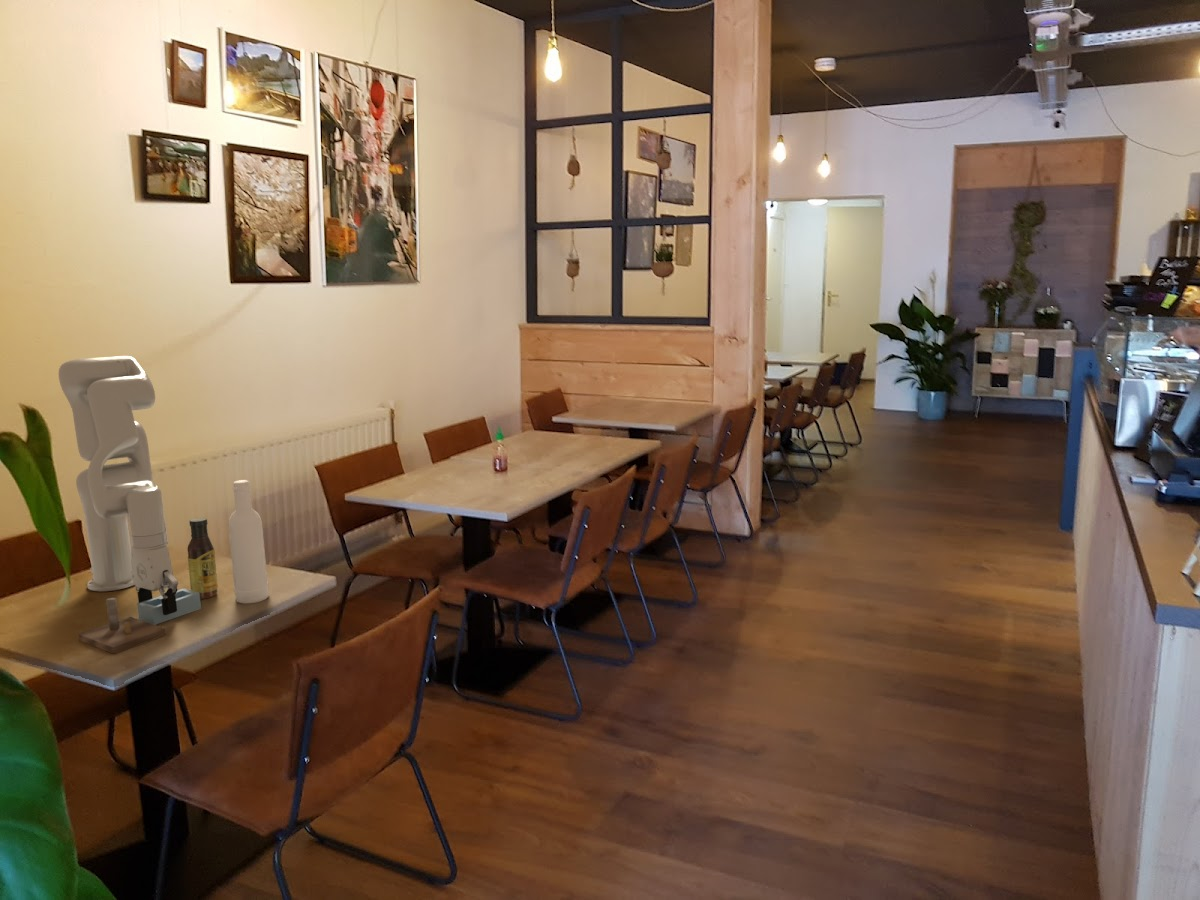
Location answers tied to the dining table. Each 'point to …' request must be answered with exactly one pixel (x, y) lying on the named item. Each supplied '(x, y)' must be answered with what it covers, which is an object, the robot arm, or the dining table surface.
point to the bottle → (247, 548)
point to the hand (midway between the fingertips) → (158, 609)
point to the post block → (120, 632)
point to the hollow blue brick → (185, 604)
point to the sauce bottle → (201, 560)
